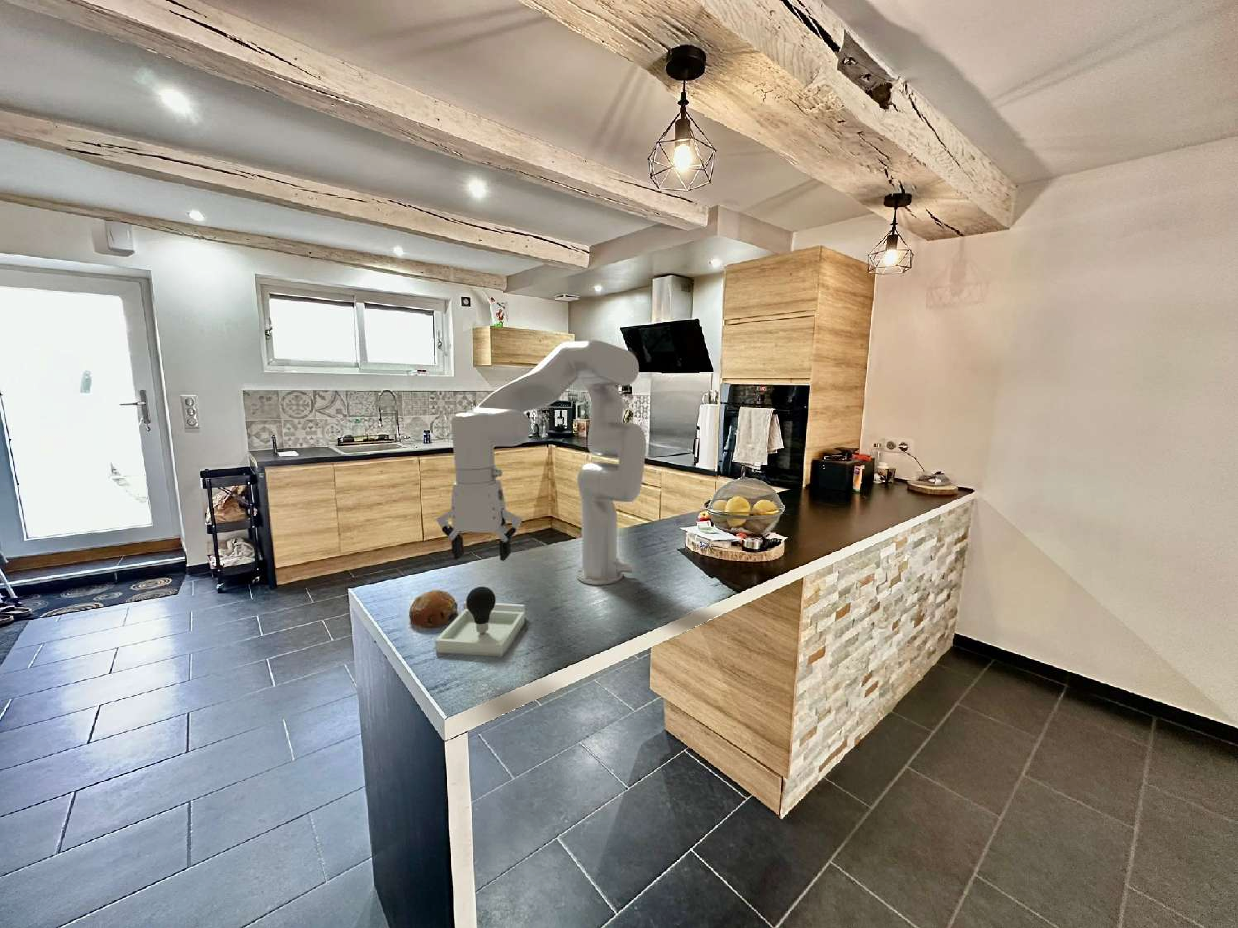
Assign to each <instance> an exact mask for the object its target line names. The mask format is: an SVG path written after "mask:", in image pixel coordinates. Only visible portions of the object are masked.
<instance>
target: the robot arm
mask: <svg viewBox="0 0 1238 928" xmlns="http://www.w3.org/2000/svg"><path fill="white" fill-rule="evenodd" d="M639 369H640V366H639V361H638V359H637V357H636V356H635V355H634V354H633V353H632V352H631V351H630V350H627V349H625V348H622V347H619V346H616V345H614V344H611V343H608V342H606V341H602V340H598V339H585V340H583V339H582V340H572V341H571V340H569V341H565V342H562V343H561V344H559V345H558V346H557V347H555V348H554V350H552V351H551V352H550V353H549V354H548V355H547V356H545V358H544V359H543V360H542V361H541V362H540V363H538V365H536V366H535V367H534V368H533V369H532V370H531V371H530V372H528V373H527V374H525V375H523V376H520V377H519V378H517V379H515V380H513V381H511V382H509V383H507V384H504V385H503V386H501V387H500V388H498V389H496V390H494V391H493V392H492V393H490V394H489V395H488V396H486V397H485V399H483V400H482V401H481V402H480V403H478V404H477V406H475V408H474V409H472V411H469V412H459V413H455V414H454V415H453V416H452V417H451V422H450V423H451V436H452V437H451V438H452V445H453V458H454V460H453V461H454V475H455V482H453V485H452V489H451V490H452V491H451V502H450V503H451V504H450V505H451V506H450V511H447V512H445V513H444V514H442V515H440V516H439V517H437V518H436V522H437V523H438V525H439V527H440V528H441V531H442V532H443V534H445V535H446V536H447V538H448V540H449V541H451V542H450V543H451V552H452V554H453V559H454V560H455V561H456V560H458V559H460V558H461V557H463V555H464V554H465V550H464V537H463V536H462V535H461V534H462V533H478V534H479V533H482V534H483V533H484V534H485V533H487V534H488V533H489V534H491V533H495V535H497V537H498V538H499V539H500V541H499V543H498V546H499V558H500V561H501V562H504V561H506V560H507V558H508V557H509V556H510V555H511V550H512V549H511V538H512V536H514V534H515V533H517V531H518V530H519V528H520V525H521V523H522V517H520V516H519V515H517V514H514V513H513V512H510V511H509V510H507V506H506V500H505V495H504V490H503V487H502V483H501V480H500V479H497V478H498V477H502V475H503V471H502V469H498V468H497V466H496V465H495V451H494V450H495V449H494V448H495V447H515V446H518V445H521V444H523V443H524V442H526V441H527V440H528V439H529V437H530V435H531V433H532V424H531V420H530V418H529V417H528V416H527V414H525V412H528V411H532V410H537V409H540V408H543V407H547V406H549V405H552V404H554V403H555V402H557V401H558V400H559V399H560V398H561V397H562V396H563V394H565V392H566V391H567V390H568V389H569V388H570V387H571V386H572V385H573V384H574V383H575V382H576V381H577V380H579V379H580V381H581V382H582V384H583V385H584V387H585V388H586V390H587V392H588V394H589V397H590V403H591V406H590V418H589V426H588V435H587V447H588V448H587V449H588V451H589V453H590V454H591V455H594V456H596V457H600V458H601V457H602V458H609V459H618V463H614V462H613V463H612V462H604V461H603V462H602V461H590V462H587V463H585V464H584V465H582V466H581V468H580V469H578V473H577V477H576V478H577V479H576V481H577V488H578V493H579V494H578V495H579V498H580V506H581V507H580V508H581V567H580V568H578V570H577V571H576V578H577V580H578V581H580V582H582V583H584V584H588V585H593V586H594V585H595V586H596V585H600V586H603V585H610V584H614V583H616V582H618V581H620V580H621V579H622V578H623V573H626V574H633V573H634V565H630V563H627V562H626V563H623V562H621V561H620V557H618V514H617V513H618V512H617V508H616V506H615V503H614V502H620V503H631V502H633V501H635V500H636V499H637V498H638V497H639V495H640V491H641V489H642V485H643V478H644V477H643V475H644V469H645V468H644V467H645V459H646V452H647V451H646V449H647V439H646V434H645V431H644V430H643V428H642V427H641V426H640V425H639V424H637V423H634V422H623V415H624V402H623V398H622V396H621V393H620V392H619V390H618V388H617V386H620V387H623V386H629V385H631V384H633V383H634V382H635V381H636V379H637V378H638V375H639V371H640V370H639ZM449 519H450V520H451V525H450V524H449V521H448V520H449ZM508 522H510V523H511V526H510V528H508V527H507V526H506V525H507V524H508Z"/></svg>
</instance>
